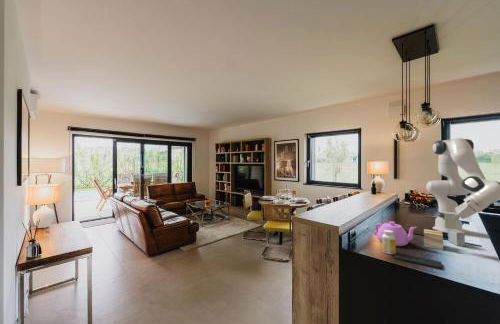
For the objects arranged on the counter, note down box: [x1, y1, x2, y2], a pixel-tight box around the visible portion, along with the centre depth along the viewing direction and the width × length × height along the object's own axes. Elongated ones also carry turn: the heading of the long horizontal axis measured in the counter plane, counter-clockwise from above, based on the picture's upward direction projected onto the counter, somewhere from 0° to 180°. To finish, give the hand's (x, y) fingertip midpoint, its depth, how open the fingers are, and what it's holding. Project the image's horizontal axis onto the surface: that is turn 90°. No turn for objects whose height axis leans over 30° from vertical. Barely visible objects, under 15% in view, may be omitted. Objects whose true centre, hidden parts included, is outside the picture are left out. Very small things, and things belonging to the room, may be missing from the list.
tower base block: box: [423, 239, 444, 251], centre depth 137 cm, size 9×9×4 cm
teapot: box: [374, 220, 417, 247], centre depth 143 cm, size 25×18×14 cm
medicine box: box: [447, 229, 466, 247], centre depth 139 cm, size 8×4×9 cm, turn 168°
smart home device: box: [393, 252, 443, 271], centre depth 116 cm, size 8×2×20 cm
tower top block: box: [423, 228, 444, 244], centre depth 137 cm, size 9×9×4 cm
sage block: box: [445, 212, 456, 229], centre depth 131 cm, size 5×5×9 cm
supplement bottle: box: [381, 230, 397, 255], centre depth 128 cm, size 7×7×13 cm
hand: (451, 218), depth 131 cm, fingers closed on sage block, 5 cm apart
